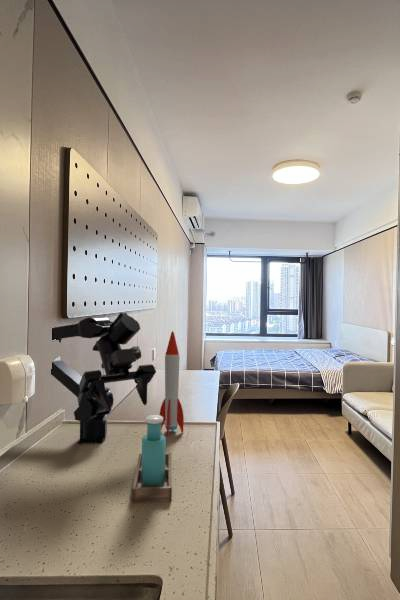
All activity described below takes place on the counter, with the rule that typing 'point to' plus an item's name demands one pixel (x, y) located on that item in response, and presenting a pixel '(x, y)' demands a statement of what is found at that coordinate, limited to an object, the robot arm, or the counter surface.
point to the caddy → (152, 492)
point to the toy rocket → (172, 389)
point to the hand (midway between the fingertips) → (128, 407)
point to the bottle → (153, 454)
